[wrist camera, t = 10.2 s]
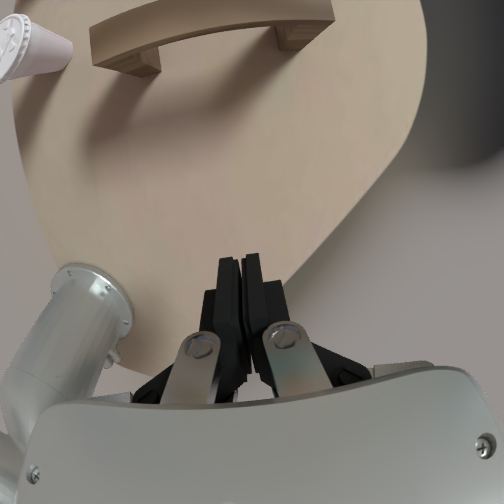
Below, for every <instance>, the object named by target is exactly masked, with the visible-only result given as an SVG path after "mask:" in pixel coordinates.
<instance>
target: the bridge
mask: <svg viewBox="0 0 504 504" xmlns="http://www.w3.org/2000/svg"><path fill="white" fill-rule="evenodd" d="M334 21H335V17H334V12H333V8H332V4H331V0H158V1H155V2H152V3H148V4H145V5H143V6H140V7H137V8H134V9H131V10H129V11H126V12H124V13H121V14H119V15H116V16H114V17H111V18H109V19H107V20H105V21H102V22H100V23H98V24H96V25H94V26H92V27H90V28H89V32H90V45H91V55H92V64H93V66H97V67H102V68H106V69H111V70H115V71H119V72H123V73H127V74H131V75H134V76H138V77H144V76H147V75H150V74H153V73H157V72H160V71H161V65H160V58H159V51H158V46H161V45H165V44H168V43H172V42H176V41H180V40H184V39H188V38H192V37H197V36H202V35H207V34H212V33H218V32H224V31H230V30H237V29H245V28H254V27H266V26H275V28H276V33H277V39H278V44H279V50H302V49H303V48H304V47H305V46H306V45H307V44H309V43H310V42H311V41H312V40H313V39H314V38H315V37H317V36H318V35H319V34H320V33H321V32H322V31H324V30H325V29H326V28H327V27H328V26H330V25H331V24H332V23H333V22H334Z"/></svg>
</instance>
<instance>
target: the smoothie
mask: <svg viewBox="0 0 504 504" xmlns="http://www.w3.org/2000/svg"><path fill="white" fill-rule="evenodd" d="M72 55H73V45H72V43H71V42H70V41H69V40H67V39H65V38H63V37H61V36H59V35H57V34H55V33H53V32H51V31H49V30H47V29H45V28H43V27H41V26H39V25H37V24H35V23H33V22H30V19H29V18H28V16H26V15H24V14H20V15H19V14H12V15H9V16H7V17H6V18H4V19H3V20H2V21H1V22H0V85H1V84H3V83H4V82H6V81H7V80H12V79H16V78H21V77H26V76H31V75H37V74H43V73H50V72H57V71H60V70H62V69H63V68H64V67H65V66H66V65H67V64H68V63H69V61H70V60H71V57H72Z"/></svg>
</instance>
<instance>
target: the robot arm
mask: <svg viewBox="0 0 504 504" xmlns="http://www.w3.org/2000/svg"><path fill="white" fill-rule="evenodd" d="M241 264H242V277H241V272H240V267H239V262H238V259H236V260H233V257H227V258H220V259H219V267H218V276H217V286H216V289H212V290H206V291H205V293H204V300H203V307H202V313H201V320H200V327H199V332H196V333H193V334H191V335H190V336H188V337H187V338H186V339H185V340H184V341H183V342H182V344H181V346H180V349H179V351H178V354H177V357H176V359H175V362H174V363H173V364H172V365H170V366H169V367H168V368H166V369H165V370H164V371H162V372H161V373H160V374H158V375H157V376H156V377H154V378H153V379H152V380H150V381H149V382H148V383H146V384H145V385H143V386H142V387H141V388H139V389H138V390H137V391H136V392H135V394H132V393H131V392H126V393H119V394H113V395H106V396H98V397H92V396H93V393H94V390H95V387H96V384H97V381H98V379H99V376H100V373H101V370H102V368H103V367H104V368H105V369H108V368H110V367H111V366H112V365H113V360H114V361H115V362H116V363H117V362H120V361H121V360H122V356H121V355H120V353H119V352H118V350H116V345H117V343H118V340H120V339H122V338H124V337H125V336H126V335H127V334H128V333H129V332H130V330H131V327H132V325H133V320H134V312H133V308H132V305H131V303H130V300H129V298H128V296H127V295H126V294H125V292H124V291H123V289H122V288H121V287H120V286H119V285H118V284H117V283H116V282H115V281H114V280H113V279H112V278H111V277H109V276H108V275H107V274H105V273H103V272H102V271H100V270H98V269H96V268H94V267H92V266H88V265H85V264H69V265H66V266H64V267H62V268H61V269H60V270H59V271H58V272H57V273H56V275H55V276H54V278H53V280H52V284H51V294H52V299H51V301H50V302H49V303H48V305H47V306H46V308H45V309H44V310H43V312H42V313H41V315H40V316H39V318H38V319H37V321H36V322H35V324H34V325H33V327H32V328H31V330H30V331H29V333H28V334H27V336H26V338H25V339H24V341H23V343H22V344H21V346H20V348H19V349H18V351H17V353H16V354H15V356H14V358H13V360H12V361H11V363H10V365H9V367H8V369H7V371H6V372H5V374H4V376H3V379H2V381H1V385H0V404H1V409H2V413H3V417H4V420H5V424H6V427H7V431H8V434H4V433H3V432H1V431H0V504H504V428H503V425H502V423H501V421H500V419H499V416H498V414H497V412H496V411H495V409H494V407H493V405H492V403H491V401H490V399H489V398H488V396H487V394H486V393H485V391H484V390H483V388H482V387H481V386H480V384H479V383H478V382H477V380H475V378H474V377H473V376H472V375H471V374H470V373H468V372H467V371H465V370H463V369H461V368H457V367H452V366H434V365H433V364H432V363H430V362H428V361H413V362H404V363H394V364H381V365H374V367H373V368H366V367H364V366H363V365H361V364H359V363H357V362H354V361H352V360H350V359H348V358H345V357H343V356H341V355H339V354H336V353H334V352H332V351H330V350H327V349H325V348H323V347H321V346H318V345H316V344H314V343H312V342H310V340H309V337H308V335H307V333H306V332H305V330H304V329H303V327H302V326H301V325H299V324H298V323H295V322H292V321H290V318H289V314H288V309H287V305H286V300H285V296H284V291H283V287H282V283H281V280H276V281H269V282H263V279H262V272H261V266H260V259H259V253H253V254H247V255H246V258H243V259H241ZM109 354H110V356H111V357H112V359H113V360H112V359H111V357H110V356H109ZM251 356H252V360H253V364H254V368H255V372H256V373H259V374H260V379H261V381H262V382H264V383H266V384H267V385H269V386H271V388H272V392H273V395H274V398H272V399H264V400H255V401H245V402H237V398H238V388H239V387H240V386H241V385H242V384H243V383H244V382H247V374H251V373H252V368H251Z"/></svg>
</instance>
